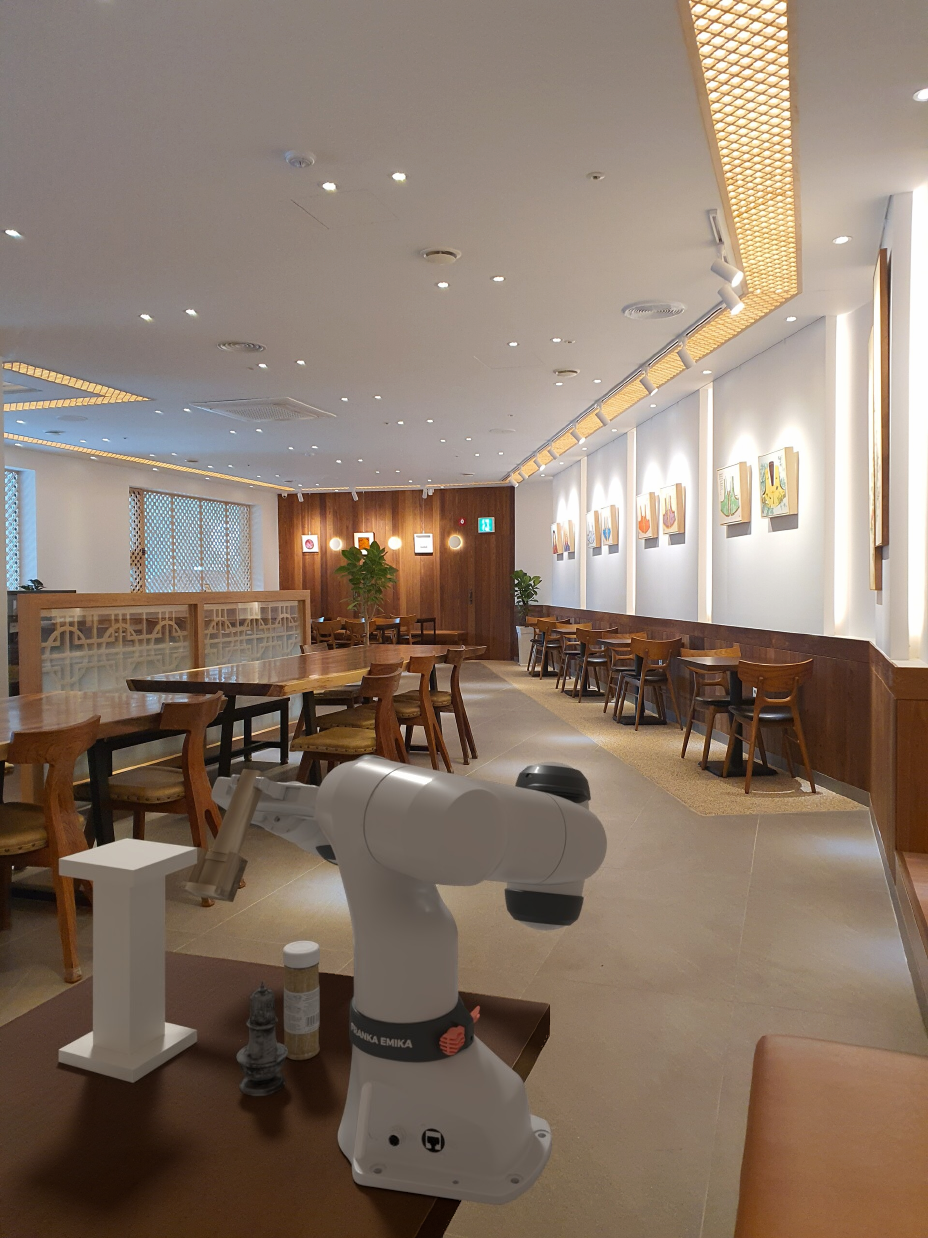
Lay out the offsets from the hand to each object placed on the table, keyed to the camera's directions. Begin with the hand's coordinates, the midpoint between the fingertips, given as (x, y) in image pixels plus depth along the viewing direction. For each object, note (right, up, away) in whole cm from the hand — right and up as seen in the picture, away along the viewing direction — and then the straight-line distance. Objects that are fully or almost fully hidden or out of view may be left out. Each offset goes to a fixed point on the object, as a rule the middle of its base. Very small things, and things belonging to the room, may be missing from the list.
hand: (245, 780), depth 132 cm
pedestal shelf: (-9, -30, -21) cm, 38 cm away
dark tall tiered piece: (+9, -30, -29) cm, 43 cm away
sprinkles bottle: (+12, -30, -22) cm, 39 cm away
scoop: (-1, -8, -2) cm, 8 cm away
